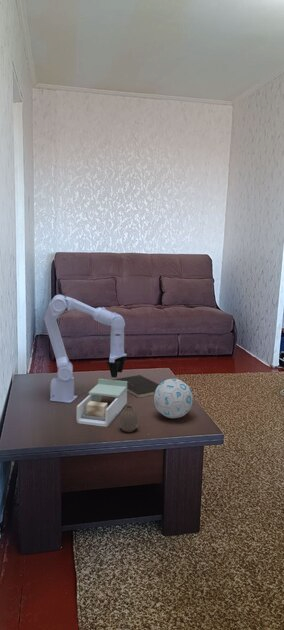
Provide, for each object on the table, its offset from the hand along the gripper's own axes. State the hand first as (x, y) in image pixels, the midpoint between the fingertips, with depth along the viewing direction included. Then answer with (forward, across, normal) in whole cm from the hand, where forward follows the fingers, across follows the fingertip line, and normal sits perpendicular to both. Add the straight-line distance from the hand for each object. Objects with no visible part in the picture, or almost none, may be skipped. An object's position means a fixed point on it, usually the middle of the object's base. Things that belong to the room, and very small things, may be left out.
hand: (116, 374), depth 198 cm
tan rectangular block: (+9, -24, 0) cm, 26 cm away
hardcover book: (+11, +17, -6) cm, 21 cm away
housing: (+10, -17, 0) cm, 20 cm away
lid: (+4, -11, 0) cm, 12 cm away
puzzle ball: (+11, -13, -27) cm, 32 cm away
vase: (+11, -30, -14) cm, 35 cm away
